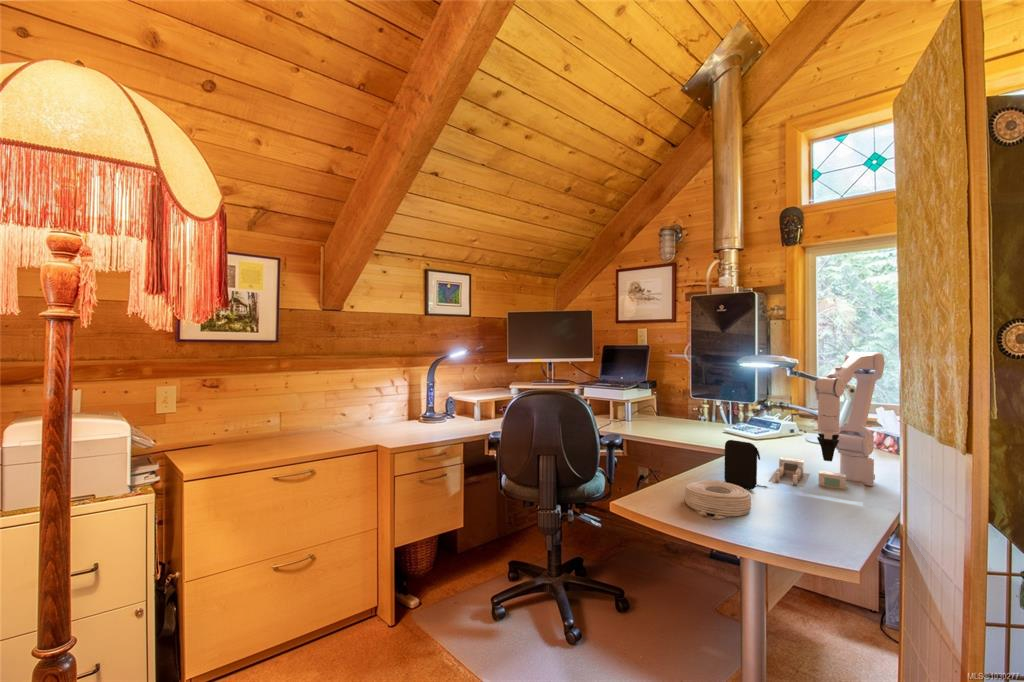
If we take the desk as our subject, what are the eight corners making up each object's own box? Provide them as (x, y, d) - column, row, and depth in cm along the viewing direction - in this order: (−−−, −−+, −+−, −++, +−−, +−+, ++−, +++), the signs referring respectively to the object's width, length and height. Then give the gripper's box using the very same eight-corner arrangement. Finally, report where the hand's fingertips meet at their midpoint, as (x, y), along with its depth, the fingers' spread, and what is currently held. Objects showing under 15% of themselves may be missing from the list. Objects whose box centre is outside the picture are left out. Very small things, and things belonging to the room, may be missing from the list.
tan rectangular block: (804, 474, 165) (804, 460, 165) (802, 477, 161) (803, 462, 161) (780, 471, 169) (781, 456, 169) (779, 473, 165) (779, 459, 165)
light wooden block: (845, 490, 152) (846, 474, 152) (845, 493, 149) (845, 477, 148) (819, 485, 156) (819, 470, 156) (818, 488, 153) (818, 473, 153)
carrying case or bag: (761, 490, 150) (761, 443, 150) (757, 493, 147) (758, 445, 147) (726, 483, 157) (727, 438, 157) (722, 485, 155) (723, 439, 155)
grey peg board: (810, 476, 166) (810, 465, 166) (803, 490, 150) (804, 477, 150) (777, 471, 172) (777, 460, 172) (768, 484, 156) (768, 472, 156)
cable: (710, 522, 124) (710, 499, 124) (670, 500, 141) (670, 479, 141) (765, 516, 129) (766, 494, 129) (721, 495, 146) (721, 475, 146)
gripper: (814, 411, 160) (813, 452, 160) (812, 417, 148) (812, 461, 148) (840, 413, 157) (839, 455, 157) (840, 419, 144) (839, 464, 144)
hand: (827, 458), depth 152 cm, fingers open, 7 cm apart
